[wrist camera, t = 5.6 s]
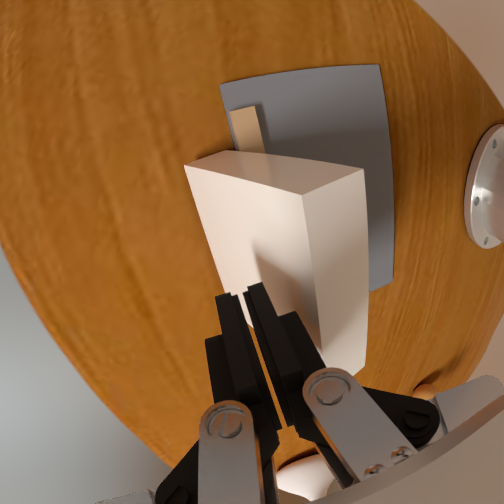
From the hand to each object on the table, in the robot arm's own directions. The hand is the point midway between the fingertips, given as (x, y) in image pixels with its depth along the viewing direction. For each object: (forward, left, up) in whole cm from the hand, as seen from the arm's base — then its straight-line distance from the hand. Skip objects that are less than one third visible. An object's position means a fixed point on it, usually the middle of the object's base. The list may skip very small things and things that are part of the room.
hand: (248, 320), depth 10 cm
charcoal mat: (-7, 0, -8) cm, 10 cm away
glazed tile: (0, 0, -7) cm, 7 cm away
